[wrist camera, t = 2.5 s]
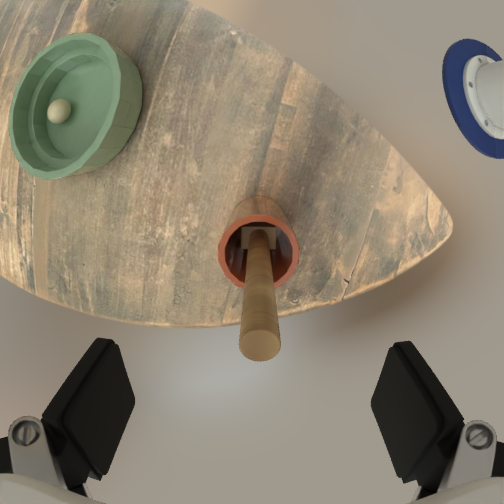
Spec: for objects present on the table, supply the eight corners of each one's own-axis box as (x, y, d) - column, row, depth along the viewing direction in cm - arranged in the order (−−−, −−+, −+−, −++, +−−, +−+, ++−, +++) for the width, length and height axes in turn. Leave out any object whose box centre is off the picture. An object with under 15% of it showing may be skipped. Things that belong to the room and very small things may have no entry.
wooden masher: (273, 215, 29) (301, 324, 10) (272, 234, 30) (296, 365, 11) (243, 214, 29) (219, 323, 10) (243, 233, 30) (221, 364, 11)
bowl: (148, 35, 23) (128, 15, 18) (143, 167, 28) (119, 170, 23) (44, 67, 24) (16, 59, 18) (40, 179, 29) (9, 186, 23)
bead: (76, 97, 25) (62, 94, 22) (75, 121, 26) (60, 120, 23) (58, 103, 25) (43, 100, 22) (56, 126, 26) (41, 125, 23)
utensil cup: (287, 196, 29) (301, 215, 20) (284, 250, 31) (296, 291, 22) (230, 195, 29) (217, 214, 20) (230, 249, 31) (219, 290, 22)
